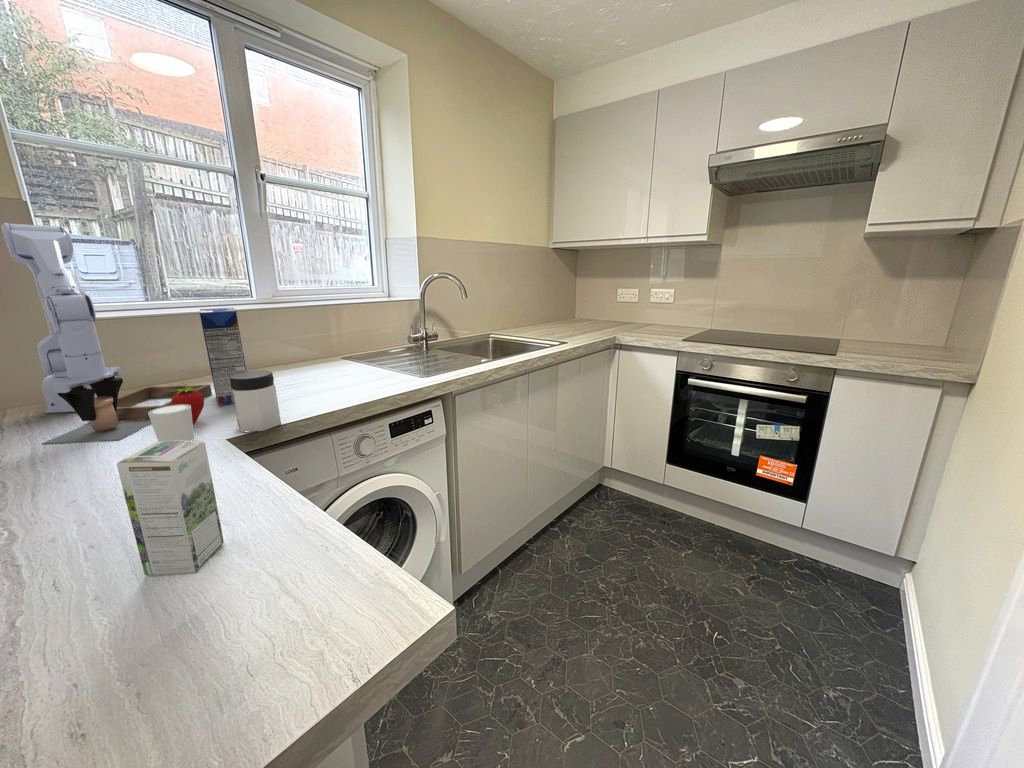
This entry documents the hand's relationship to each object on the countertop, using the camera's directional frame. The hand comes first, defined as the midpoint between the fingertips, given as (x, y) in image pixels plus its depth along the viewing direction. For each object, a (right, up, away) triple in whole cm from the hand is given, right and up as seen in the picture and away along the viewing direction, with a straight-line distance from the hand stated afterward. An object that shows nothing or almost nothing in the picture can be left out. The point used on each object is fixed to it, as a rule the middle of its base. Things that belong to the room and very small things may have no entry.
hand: (100, 415), depth 89 cm
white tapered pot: (+20, -5, -4) cm, 21 cm away
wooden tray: (-2, +1, +17) cm, 17 cm away
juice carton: (+13, +3, +24) cm, 27 cm away
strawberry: (+15, -2, +6) cm, 17 cm away
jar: (+32, -3, +4) cm, 32 cm away
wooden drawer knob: (0, -2, +1) cm, 3 cm away
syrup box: (+49, -15, -39) cm, 65 cm away
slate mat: (0, -3, +1) cm, 4 cm away
